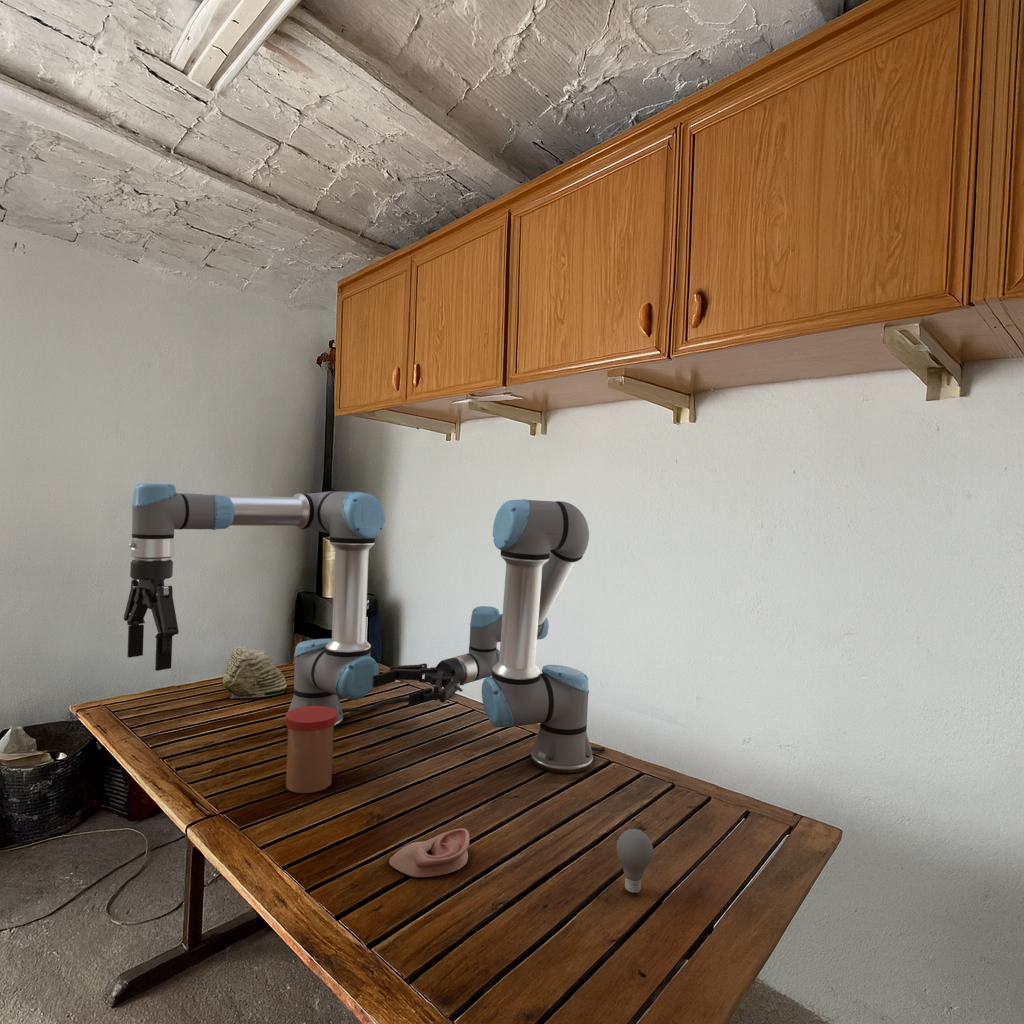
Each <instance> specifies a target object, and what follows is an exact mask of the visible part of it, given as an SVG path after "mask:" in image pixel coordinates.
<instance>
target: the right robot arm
mask: <svg viewBox="0 0 1024 1024" xmlns="http://www.w3.org/2000/svg"><path fill="white" fill-rule="evenodd" d="M586 519H587V518H586V516H585V515H584V513H582V511H581V510H580V509H579V508H578V507H577V506H576V505H574V504H572V503H570V502H567V501H563V500H561V501H560V500H555V501H554V500H539V499H538V500H537V499H536V500H535V499H525V498H522V499H521V498H520V499H510V500H507V501H505V502H503V503H502V504H501V505H500V508H498V510H497V512H496V515H495V517H494V521H493V526H492V537H493V539H492V540H493V545H494V546H495V548H497V549H498V550H500V558H502V560H503V561H504V562H505V575H504V576H505V577H504V588H503V590H504V591H503V601H502V602H503V603H502V613H500V611H499V609H498V608H496V607H494V606H491V605H490V606H489V605H488V606H487V605H480V606H476V607H474V608H473V609H472V611H471V615H470V622H469V646H468V652H467V653H464V654H459V655H457V656H452V657H450V658H446V659H443V660H441V661H439V662H438V664H436V666H435V667H434V666H433V667H428V664H427V663H420V664H404V665H390V666H389V671H386V672H382V673H379V674H378V675H374V676H373V684H372V686H373V688H377V687H380V686H381V687H382V686H384V685H388V684H391V683H395V682H396V680H397V681H418V682H419V683H423V684H424V683H427V684H429V685H431V686H433V688H431V687H429V688H425V689H422V690H418V691H415V692H412V693H409V694H408V697H409V700H407V702H408V703H407V706H408V707H410V708H411V707H413V706H416V705H420V704H423V703H425V702H426V703H427V702H429V701H432V700H433V701H438V700H439V702H440V703H445V702H446V701H447V700H448V699H449V698H450V697H452V696H453V695H452V693H453V692H454V691H456V690H457V691H459V687H460V688H461V686H464V685H466V684H467V685H468V684H469V683H473V682H476V681H479V680H480V681H481V680H483V681H482V683H481V701H482V705H483V709H484V712H485V714H486V717H487V719H488V721H489V722H490V723H491V724H492V725H493V726H494V727H496V728H515V727H521V726H522V727H523V726H530V725H537V724H539V729H538V732H537V734H536V738H535V740H534V743H533V746H532V748H531V751H530V752H531V753H530V760H531V762H532V763H533V765H535V766H536V767H537V768H540V769H542V770H544V771H547V772H550V773H556V774H578V773H582V772H585V771H588V770H590V769H591V767H592V766H593V760H594V759H593V758H594V756H593V751H594V752H604V751H606V749H605V746H601V747H600V746H591V744H590V740H589V736H588V732H587V729H588V728H587V727H588V712H589V711H588V709H589V693H590V686H589V685H590V683H589V677H588V675H587V673H585V672H584V671H582V670H580V669H578V668H574V667H570V666H567V665H561V664H545V665H543V666H542V669H540V668H539V667H538V666H537V665H536V655H537V642H538V640H543V639H545V638H546V637H547V636H548V634H549V628H550V623H549V619H548V615H549V613H550V611H551V609H552V607H553V605H554V603H555V601H556V600H557V597H558V596H559V594H560V593H561V590H562V589H563V586H564V584H565V582H566V580H567V578H568V577H569V575H570V573H571V571H572V569H573V566H574V565H575V564H576V563H578V562H580V561H581V560H582V559H583V557H584V555H585V554H586V551H587V548H588V546H589V541H590V529H589V523H588V522H587V520H586ZM498 643H500V644H499V649H498V648H497V645H498ZM423 677H424V678H423ZM457 691H456V692H457ZM451 695H452V696H451Z"/></svg>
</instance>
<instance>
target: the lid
mask: <svg viewBox="0 0 1024 1024" xmlns="http://www.w3.org/2000/svg"><path fill="white" fill-rule="evenodd" d="M284 718H285V721H284V725H285V726H286V728H287V729H288V728H290V729H293V730H299V731H314V730H321V729H325V728H328V727H331V726H333V725H334V724H335V723H336V722H337V711H336V710H335V709H333V708H330V707H325V706H306V707H300V708H296V709H293V710H291V711H289V712H288V711H287V712H286V714H285V717H284Z"/></svg>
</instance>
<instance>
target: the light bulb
mask: <svg viewBox="0 0 1024 1024" xmlns="http://www.w3.org/2000/svg"><path fill="white" fill-rule="evenodd" d="M615 849H616V854H617V857H618V859H619V861H620V863H621V865H622V867H623V873H624V874H623V875H624V876H625V878H624V888H625V890H627V891H628V892H630V893H634V894H635V893H639V892H640V891H641V889H642V887H641V886H642V879H643V877H644V875H645V871H646V868H647V867H648V866H649V864H650V863H651V861H652V859H653V855H654V847H653V843H652V841H651V838H649V836H648V835H647V834H646V833H645V832H643V831H642V830H641V829H636V828H629V829H627V830H625V831H623V832H622V833H621V834H620V835H619V837H618V839H617V841H616V847H615Z"/></svg>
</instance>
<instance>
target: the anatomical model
mask: <svg viewBox="0 0 1024 1024" xmlns="http://www.w3.org/2000/svg"><path fill="white" fill-rule="evenodd" d="M469 846H470V832H469V831H468V829H466V828H463V827H460V828H455V829H451V830H447V831H445V832H442V833H440V834H437V835H435V836H434V837H431V838H430V839H426V840H424V841H415V842H412V843H409V844H406V845H405V846H404V847H401V848H400V849H398V850H397V851H396V852H395V853H394V854H393V855H392V856H391V857H390V858H389V860H388V865H390V866H391V867H392V868H393V869H395V870H397V871H398V872H400V873H402V874H404V875H406V876H409V877H411V878H429V877H437V876H443V875H448V874H450V873H453V872H456V871H458V870H460V869H462V868H463V867H464V866H466V864H467V862H468V860H469V852H468V849H469Z"/></svg>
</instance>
